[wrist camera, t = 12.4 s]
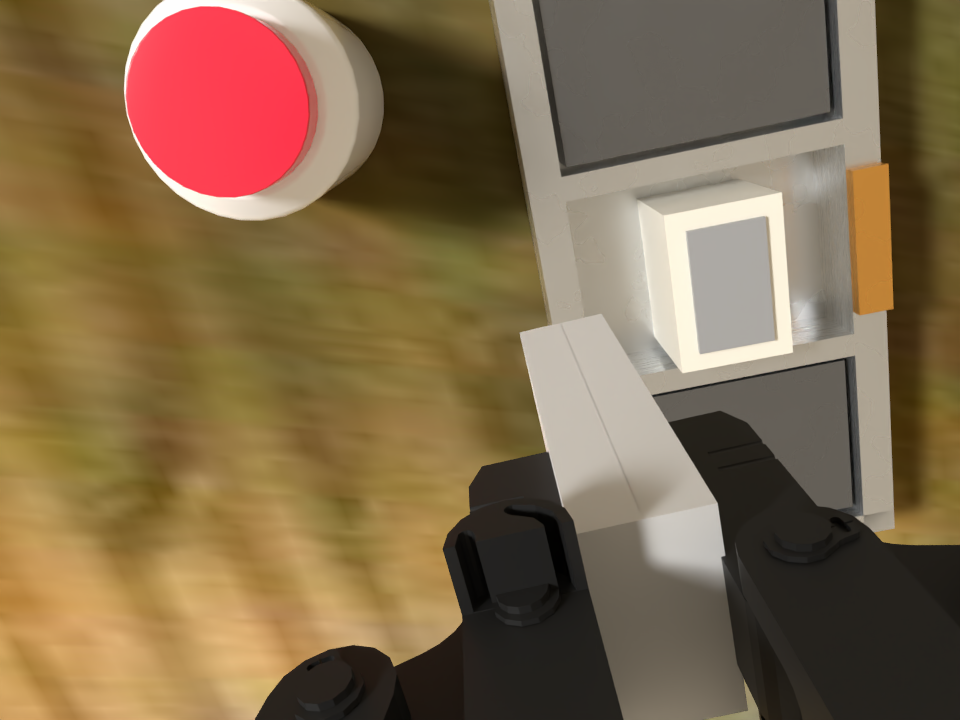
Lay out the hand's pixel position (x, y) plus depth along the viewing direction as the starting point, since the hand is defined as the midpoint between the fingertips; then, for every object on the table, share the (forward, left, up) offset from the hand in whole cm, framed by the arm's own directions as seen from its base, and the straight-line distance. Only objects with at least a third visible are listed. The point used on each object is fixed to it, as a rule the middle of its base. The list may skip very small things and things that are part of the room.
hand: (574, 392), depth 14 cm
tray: (+3, +8, -22) cm, 24 cm away
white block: (+4, +8, -22) cm, 23 cm away
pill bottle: (-7, -8, -23) cm, 25 cm away
